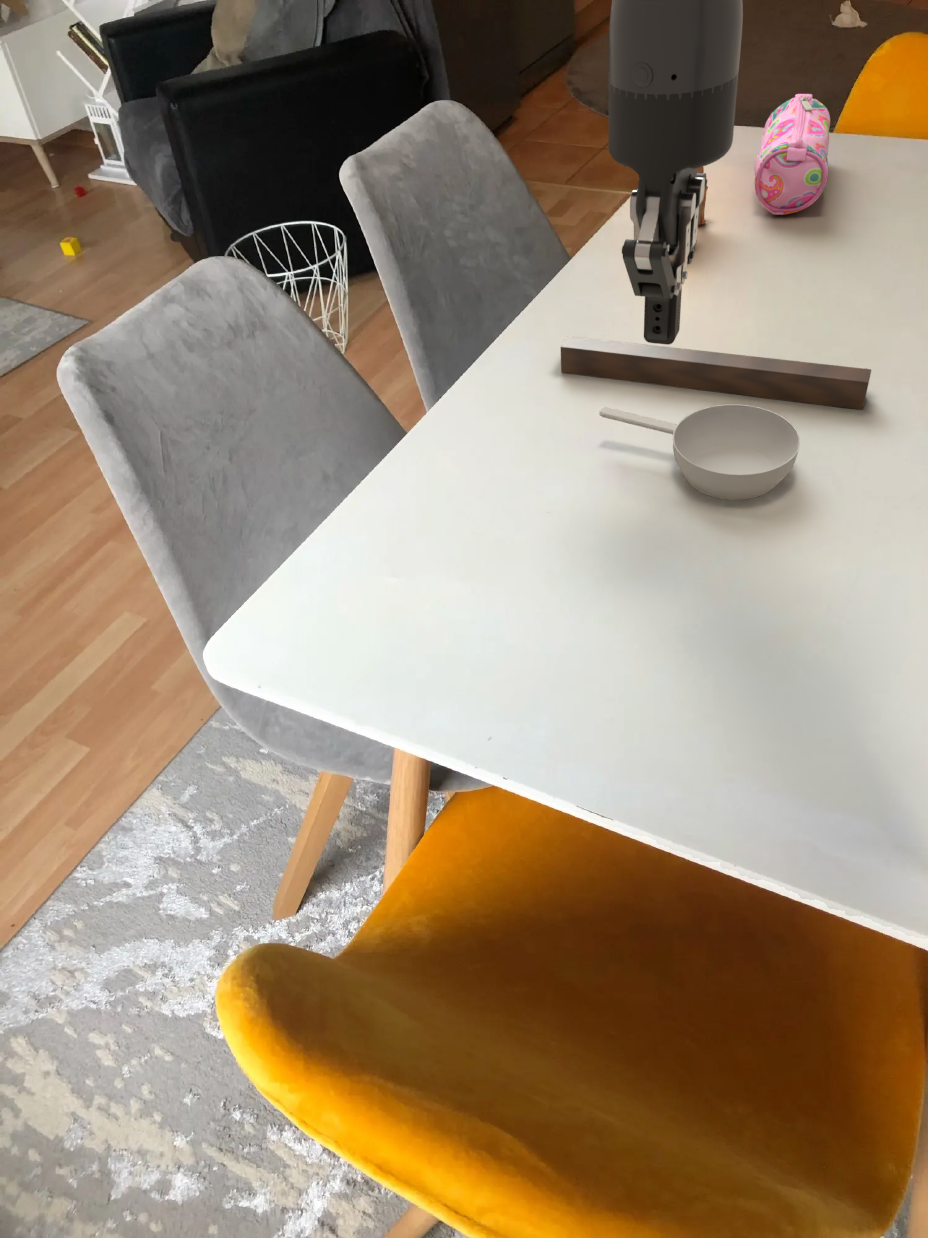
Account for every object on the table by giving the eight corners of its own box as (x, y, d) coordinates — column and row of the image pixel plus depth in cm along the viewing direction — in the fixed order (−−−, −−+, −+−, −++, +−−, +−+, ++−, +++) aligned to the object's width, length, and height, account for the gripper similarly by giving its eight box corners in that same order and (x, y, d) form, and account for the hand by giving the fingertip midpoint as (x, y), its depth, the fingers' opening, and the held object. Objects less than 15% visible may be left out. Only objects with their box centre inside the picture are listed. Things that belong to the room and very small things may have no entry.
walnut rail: (865, 396, 93) (871, 369, 90) (862, 410, 91) (868, 382, 89) (568, 361, 102) (567, 335, 100) (560, 372, 101) (560, 346, 99)
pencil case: (760, 156, 137) (768, 87, 131) (827, 157, 135) (839, 87, 129) (745, 218, 123) (754, 144, 117) (820, 220, 121) (833, 145, 114)
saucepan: (776, 519, 81) (782, 482, 78) (578, 475, 88) (577, 440, 85) (807, 449, 87) (813, 413, 85) (620, 413, 94) (621, 379, 92)
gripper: (712, 106, 51) (692, 393, 63) (759, 35, 59) (733, 300, 71) (577, 104, 53) (582, 380, 65) (640, 36, 62) (634, 291, 74)
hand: (661, 338), depth 68 cm, fingers closed
